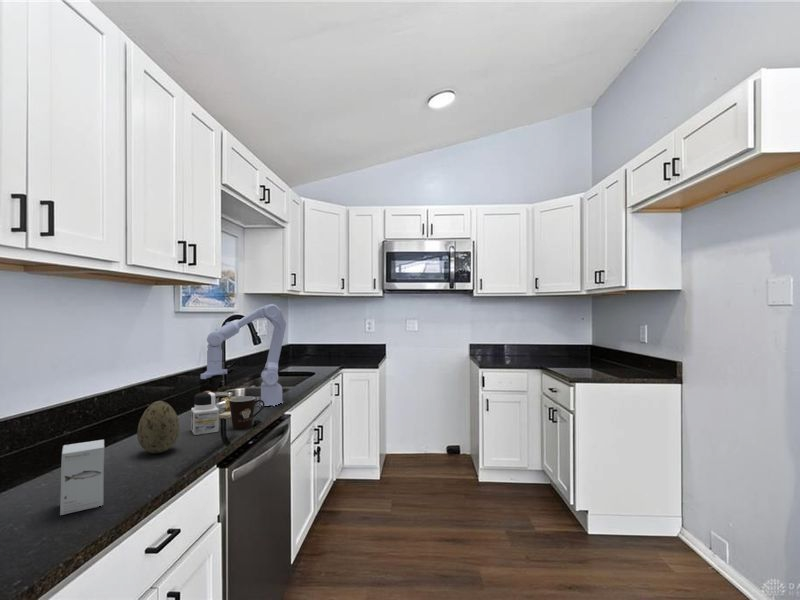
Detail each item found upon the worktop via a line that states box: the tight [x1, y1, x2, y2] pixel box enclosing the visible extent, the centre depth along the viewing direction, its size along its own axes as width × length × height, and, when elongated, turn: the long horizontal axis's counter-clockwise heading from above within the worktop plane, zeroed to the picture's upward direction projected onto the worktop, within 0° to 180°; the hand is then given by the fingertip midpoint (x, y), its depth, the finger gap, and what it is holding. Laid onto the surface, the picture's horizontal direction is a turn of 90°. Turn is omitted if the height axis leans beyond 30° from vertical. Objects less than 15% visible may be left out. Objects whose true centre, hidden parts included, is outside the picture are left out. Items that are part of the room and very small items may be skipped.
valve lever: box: [204, 390, 234, 397], centre depth 172 cm, size 13×2×1 cm, turn 76°
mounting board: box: [219, 409, 231, 420], centre depth 170 cm, size 16×13×1 cm
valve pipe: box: [215, 395, 243, 414], centre depth 170 cm, size 15×4×5 cm, turn 164°
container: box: [190, 391, 220, 436], centre depth 145 cm, size 8×8×13 cm
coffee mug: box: [229, 396, 265, 431], centre depth 150 cm, size 12×9×10 cm
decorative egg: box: [136, 400, 180, 454], centre depth 123 cm, size 11×11×15 cm
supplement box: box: [59, 439, 105, 516], centre depth 90 cm, size 7×7×13 cm
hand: (214, 393), depth 174 cm, fingers closed
